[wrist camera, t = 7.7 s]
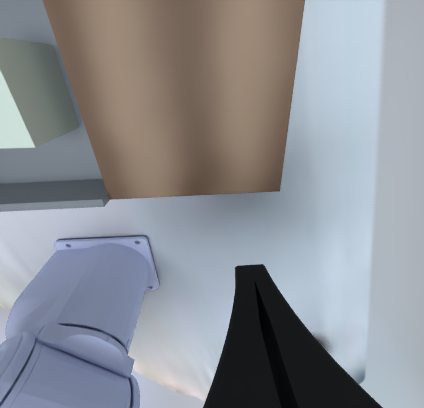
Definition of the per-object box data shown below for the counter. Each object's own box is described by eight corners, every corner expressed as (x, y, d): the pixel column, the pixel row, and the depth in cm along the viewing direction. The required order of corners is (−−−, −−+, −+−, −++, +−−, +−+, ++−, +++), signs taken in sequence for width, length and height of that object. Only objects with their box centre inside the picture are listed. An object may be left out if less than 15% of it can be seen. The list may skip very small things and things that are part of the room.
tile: (79, 126, 16) (52, 127, 16) (52, 45, 14) (20, 45, 14) (35, 147, 12) (-1, 148, 12) (-16, 35, 10) (-62, 36, 10)
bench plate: (122, 182, 19) (109, 199, 17) (56, -49, 12) (15, -80, 9) (269, 174, 19) (279, 191, 17) (294, -63, 12) (317, -98, 9)
